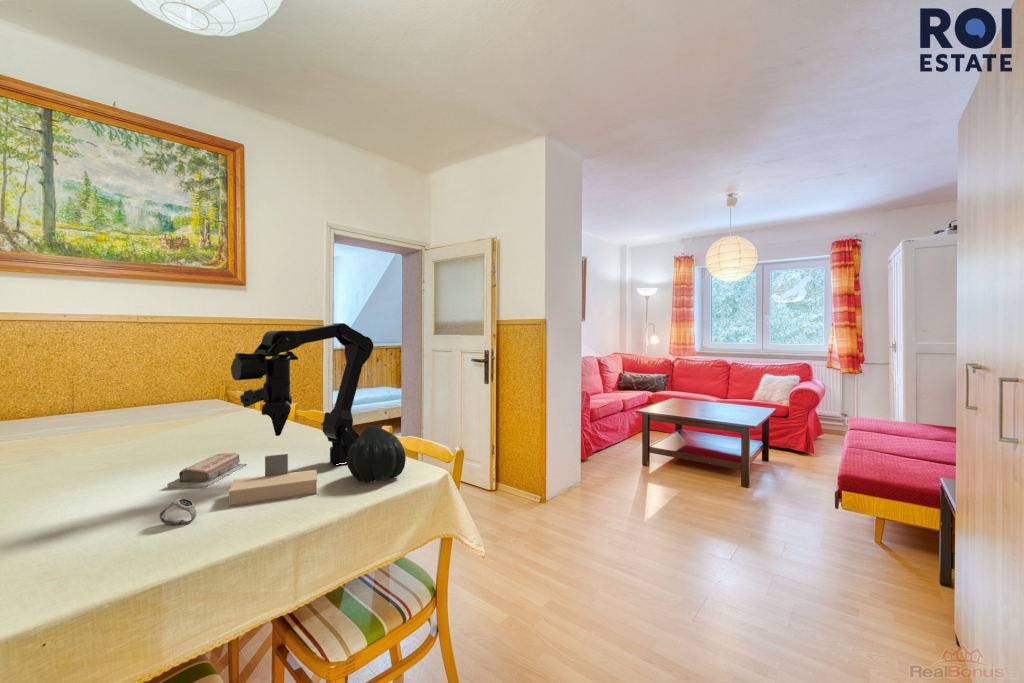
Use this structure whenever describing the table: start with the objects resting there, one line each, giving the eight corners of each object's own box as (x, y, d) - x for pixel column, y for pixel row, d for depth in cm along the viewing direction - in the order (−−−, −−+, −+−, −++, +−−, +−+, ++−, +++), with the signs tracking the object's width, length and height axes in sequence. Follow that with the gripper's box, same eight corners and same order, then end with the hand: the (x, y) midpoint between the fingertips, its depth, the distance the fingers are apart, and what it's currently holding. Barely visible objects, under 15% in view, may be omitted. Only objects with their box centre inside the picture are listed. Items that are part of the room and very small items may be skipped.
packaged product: (212, 451, 124) (247, 451, 125) (212, 468, 124) (247, 467, 125) (166, 471, 106) (207, 470, 107) (166, 490, 106) (207, 489, 107)
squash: (409, 465, 108) (403, 415, 117) (347, 474, 103) (345, 421, 112) (405, 488, 118) (399, 440, 127) (348, 497, 113) (346, 446, 122)
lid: (316, 471, 111) (316, 450, 110) (317, 481, 103) (317, 459, 103) (234, 481, 102) (233, 459, 102) (228, 493, 95) (228, 469, 95)
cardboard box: (315, 483, 110) (315, 472, 110) (316, 493, 103) (316, 481, 103) (234, 494, 102) (234, 482, 102) (229, 506, 95) (229, 493, 95)
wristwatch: (190, 526, 86) (190, 501, 86) (156, 528, 84) (155, 504, 84) (200, 518, 89) (199, 495, 89) (166, 521, 88) (166, 497, 88)
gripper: (246, 375, 117) (246, 431, 117) (237, 382, 100) (237, 447, 101) (291, 374, 122) (291, 427, 122) (289, 380, 105) (289, 442, 105)
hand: (278, 435), depth 112 cm, fingers closed
